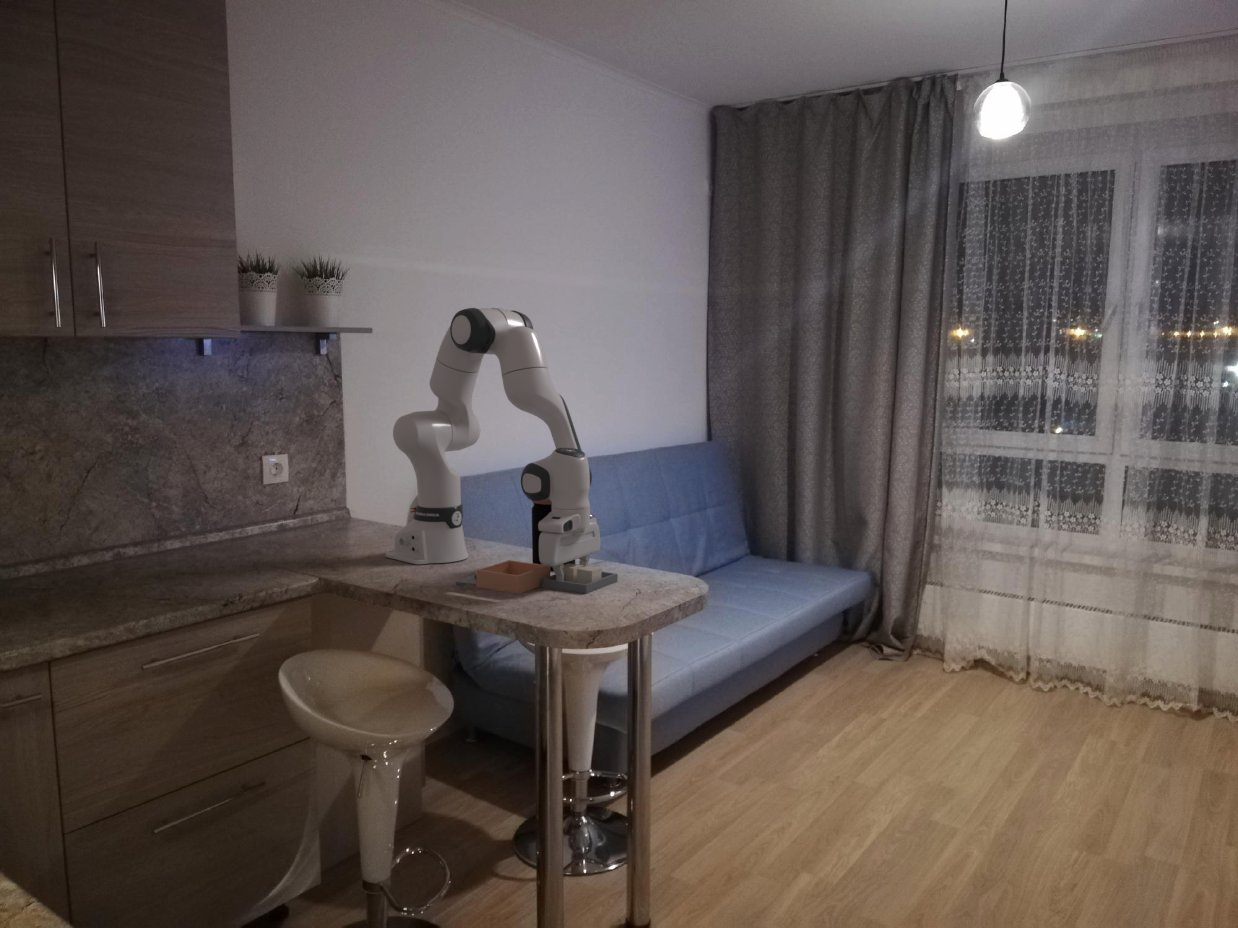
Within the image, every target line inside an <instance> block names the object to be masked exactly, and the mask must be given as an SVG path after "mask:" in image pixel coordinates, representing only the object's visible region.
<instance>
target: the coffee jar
mask: <svg viewBox="0 0 1238 928" xmlns="http://www.w3.org/2000/svg"><path fill="white" fill-rule="evenodd" d="M531 502H532V503H533V506H532V507H531V542H532V543H531V544H532V545H531V550H532V551H531V553H532V563H533V564H541V562H540V560H539V536H540V534H541V533H542V532H543V531H539V529H538V524H539V522H540V521H541V520H542V519H544V518H545V517H546V516H547V515H548V514H549V513H550V512H552V502H551V501H544V502H537V501H531ZM569 563H570V564H576V559H575V560H572V561H569V562H566V563H564V565H566V564H569ZM541 565H542V564H541ZM550 572H554V570H553V567H551V566H550Z"/></svg>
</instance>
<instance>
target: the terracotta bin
mask: <svg viewBox="0 0 1238 928" xmlns="http://www.w3.org/2000/svg"><path fill="white" fill-rule="evenodd" d="M475 574H476V578H477V585H476V588H481V589H488V590H492V591H493V590H495V591H500V592H507V593H513V594H516V595H517V594H518V595H519V594H523V593H525V592H528V591H531V590H533V589H536V588H539V587H542V579H543V578H546V577H549V576H551V571H550V566H544V565H541V564H533V562H525V561H518V560H510V559H509V560H505V561H502V562H498V563H495V564H492V565H488V566H485V567H482V568H478V569H476V571H475Z"/></svg>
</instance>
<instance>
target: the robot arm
mask: <svg viewBox="0 0 1238 928" xmlns="http://www.w3.org/2000/svg"><path fill="white" fill-rule="evenodd" d="M452 317H453V318H452V319H451V322H450V325H449V327H448V329H447V331H446V332H445V335H444V337H443V339H442V341H441V344H440V347H439V348H438V352H437V355H436V358H435V360H434V361H435V362H434V365H433V368H432V371H431V376H430V379H429V388H430V390H431V392H432V393H433V395H435V397H437V406H436V408H435V410H423V411H420V410H419V411H413V412H411V413H407V414H405V415H401V416H399V418H398V419H396V421H395V422H394V425H393V429H392V437H393V440H394V444H395V445H396V447H397V449H398V450H399V451H401V452H402V453H403V454H404V455H406V457H407V458H408V460H409V461H410V463H411V464H412V467H413V470H414V473H415V477H416V486H417V506H416V507H410V510H411V511H410V513H414V514H413V519H412V520H411V521H410V522H408V523H407V524H406V525H405V526H404V527H403V528H401V529H400V530H399V531H398V532H397V533H396V535H395V538H394V548H393V549H391V550H388V551H387V552H385V558H389V559H393V560H398V561H400V562H405V563H408V564H413V565H426V564H428V565H429V564H445V563H453V562H458V561H462V560H466V559H467V558H469V553H468V550H467V546H466V541H465V535H464V527H463V518H464V508H463V503H462V499H461V498H462V494H461V491H462V489H461V486H462V485H461V476H460V474H459V472H458V471H457V470H455V469H454V468H453V467H451V466H450V465H449V463H448V461H447V457H446V452H447V453H448V452H455V451H461V450H464V449H466V448H469V447H472V446H473V445H475V444H476V443H477V442H478V440H479V438H480V435H481V425H480V421H479V419H478V417H477V416H476V415H475V414H474V411H473V408H472V407H473V404H472V403H473V401H472V400H473V399H472V398H473V393H474V389H475V386H476V381H477V378H478V375H479V372H480V368H481V366H482V361H483V359H484V357H485V355H495V356H496V357H497V359H498V362H499V365H500V373H501V379H502V384H503V389H504V392H505V395H506V397H507V400H508V401H509V403H510V404H512V405H513V406H514V407H515V408H517V409H519V410H521V411H522V412H525V413H528V414H530V415H533V416H535V417H537V418H538V419H541V421H543V422H544V423H545V424H546V425H547V427H548V429H549V430H550V431H549V432H550V435H551V438H552V440H553V444H554V447H555V449H554V450H552V453H551V454H549V455H548V456H546V457H544V458H542V459H541V458H540V459H539V460H535V461H532V462H530V463H528V464H526V465H525V466H524V468H523V469H522V471H521V475H520V486H521V489H522V492H523V494H524V495H525V497H527V499H528V500H530V501H531V502H532V501H537V502H544V501H551V502H552V512H550V513H549V514H548V515H547V516H546V517H545V518H544V519H542V520H541V521H540V522H539V524H538V529H539V531H543V532H542V533H541V534H540V536H539V560H540V562H541V564H542V565H544V566H551V567H553V570H554V571H553V572H554V575H555V574H556V580H559V581H566V574H564V573H563V570H562V568H563V567H564V563H566V562H569V561H572V560H575V561H576V560H577V559H578V560H579V561H578V565H583V567H585V566H588V564H589V562H590V555H593V554H596V553H599V552H600V550H601V534H600V527H599V525H598V524H599V523H598V521H597V518H596V517H595V515H594V514H592V513H591V503H590V500H589V492H590V489H591V486H592V482H593V480H592V479H593V475H592V470H591V467H590V465H589V459H588V456H587V454H586V453H585V452H584V451H582V448H581V444H580V442H579V438H578V435H577V431H576V429H575V426H574V423H573V419H572V417H571V413H570V411H569V408H568V405H567V404H566V401H565V399H564V397H563V396H562V395H561V394H559V392H558V391H557V389H556V388H555V386H554V385H555V384H554V383H553V382H552V378H551V376H550V373H549V372H550V371H549V367H548V363H547V357H546V354H545V352H544V347H543V346H542V343H541V340H540V337H539V335H538V334H537V332H536V331H535V330H534V327H533V326H534V325H533V323H532V321H531V319H530V318H529V317H528V316H527V315H526V314H524V313H522V312H520V311H517V310H508V309H503V308H498V307H497V308H496V307H491V308H486V307H485V308H476V307H469V308H464V309H461V310H459V311H457V312H456V313H455V314H454V316H452Z"/></svg>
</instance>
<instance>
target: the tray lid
mask: <svg viewBox="0 0 1238 928" xmlns="http://www.w3.org/2000/svg"><path fill="white" fill-rule="evenodd" d="M467 585H472V586H477V578H476V573H475V574H472V575H469V576H467V577H464V578H462V579H460V580H457V581H455V586H462V587H464V586H467Z"/></svg>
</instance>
